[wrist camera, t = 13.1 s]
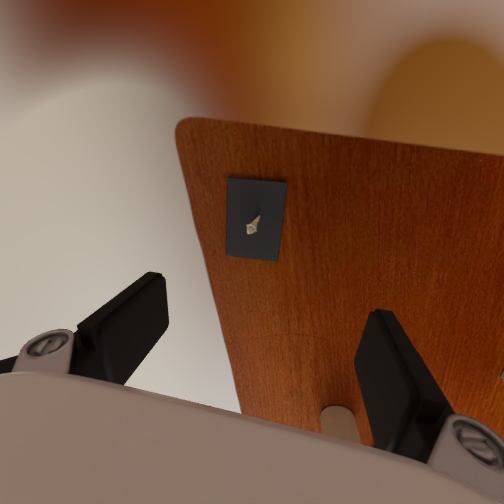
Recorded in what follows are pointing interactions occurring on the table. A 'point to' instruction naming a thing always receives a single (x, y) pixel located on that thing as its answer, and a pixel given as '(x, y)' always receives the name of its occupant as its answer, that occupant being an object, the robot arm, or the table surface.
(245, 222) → the mat
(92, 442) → the robot arm
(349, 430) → the candle
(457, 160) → the table surface
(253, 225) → the ring
